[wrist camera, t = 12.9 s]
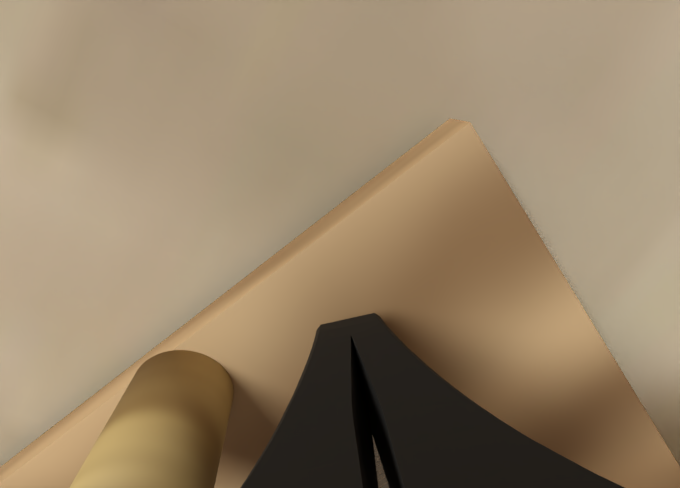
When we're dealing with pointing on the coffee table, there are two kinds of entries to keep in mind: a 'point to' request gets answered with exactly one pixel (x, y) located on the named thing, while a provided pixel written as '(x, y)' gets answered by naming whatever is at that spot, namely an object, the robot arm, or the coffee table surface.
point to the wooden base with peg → (398, 314)
